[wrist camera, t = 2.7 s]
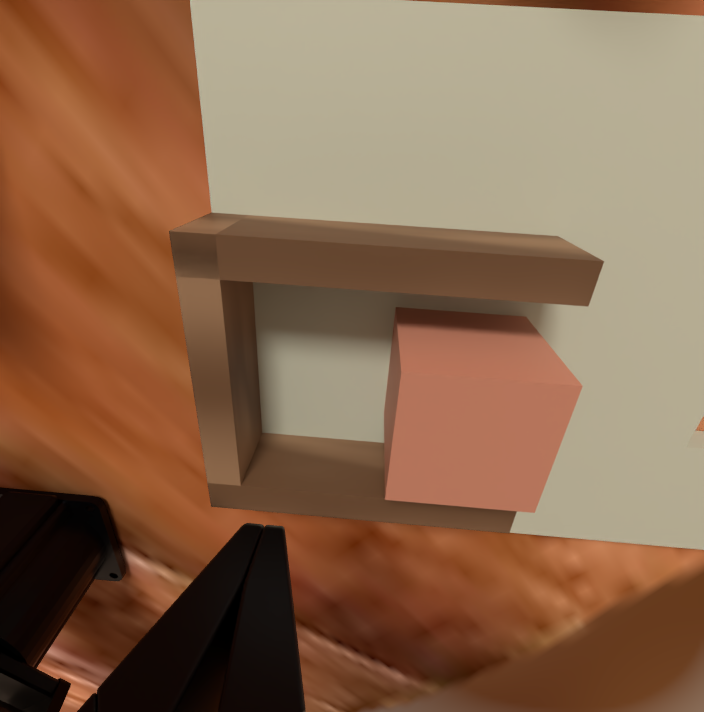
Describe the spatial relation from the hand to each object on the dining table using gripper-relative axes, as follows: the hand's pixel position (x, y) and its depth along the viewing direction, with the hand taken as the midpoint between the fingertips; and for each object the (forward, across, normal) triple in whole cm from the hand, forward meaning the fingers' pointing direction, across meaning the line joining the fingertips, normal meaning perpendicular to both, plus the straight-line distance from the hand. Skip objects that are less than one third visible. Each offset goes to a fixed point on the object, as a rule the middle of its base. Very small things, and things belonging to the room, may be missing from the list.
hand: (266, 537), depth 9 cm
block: (+8, -5, 0) cm, 9 cm away
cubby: (+8, -2, 0) cm, 8 cm away
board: (+9, -9, -1) cm, 13 cm away
